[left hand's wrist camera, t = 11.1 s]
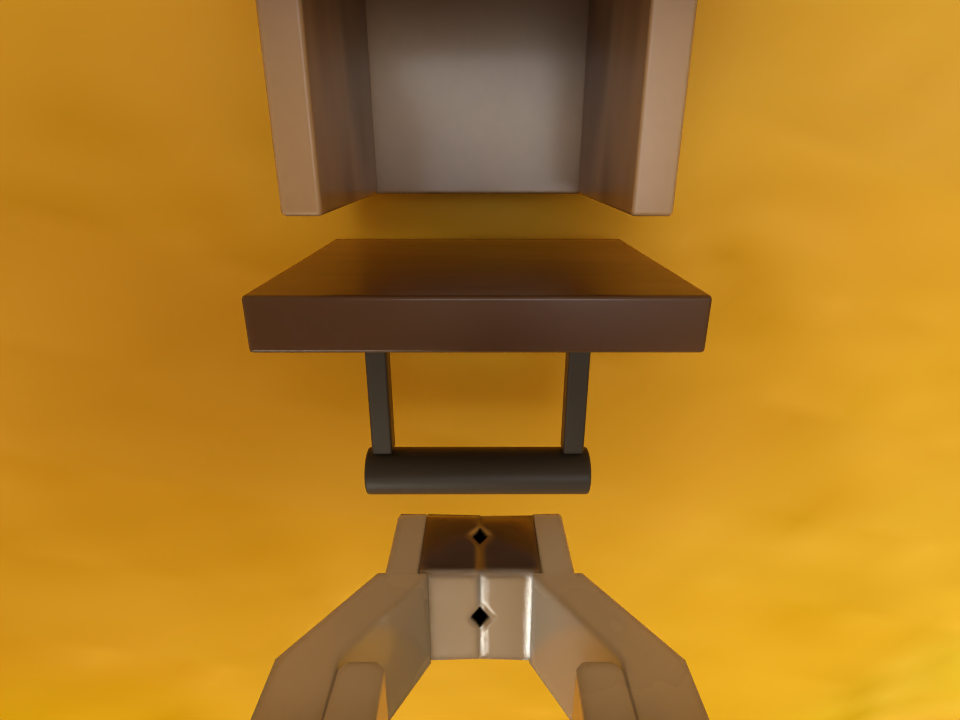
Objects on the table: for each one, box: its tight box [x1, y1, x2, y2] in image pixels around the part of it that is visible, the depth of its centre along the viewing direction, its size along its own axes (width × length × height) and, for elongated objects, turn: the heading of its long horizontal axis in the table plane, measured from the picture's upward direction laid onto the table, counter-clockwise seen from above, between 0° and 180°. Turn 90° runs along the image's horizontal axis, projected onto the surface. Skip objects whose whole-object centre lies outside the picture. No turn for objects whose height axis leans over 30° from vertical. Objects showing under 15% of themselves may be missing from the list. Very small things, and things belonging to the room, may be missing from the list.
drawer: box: [242, 0, 712, 494], centre depth 14 cm, size 19×9×8 cm, turn 0°
